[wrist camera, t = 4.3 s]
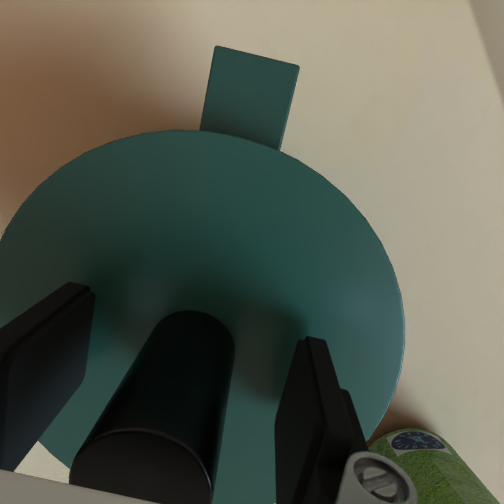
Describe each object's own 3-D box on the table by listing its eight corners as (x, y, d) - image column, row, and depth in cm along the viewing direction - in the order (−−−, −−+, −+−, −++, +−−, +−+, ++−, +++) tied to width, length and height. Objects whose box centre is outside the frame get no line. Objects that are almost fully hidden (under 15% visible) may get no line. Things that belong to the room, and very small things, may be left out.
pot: (382, 121, 18) (475, 102, 10) (291, 420, 23) (304, 574, 15) (138, 62, 18) (32, -7, 10) (95, 377, 23) (-3, 509, 14)
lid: (452, 187, 11) (655, 234, 5) (331, 518, 15) (374, 769, 9) (20, 84, 11) (-264, 13, 5) (-2, 446, 14) (-190, 656, 8)
